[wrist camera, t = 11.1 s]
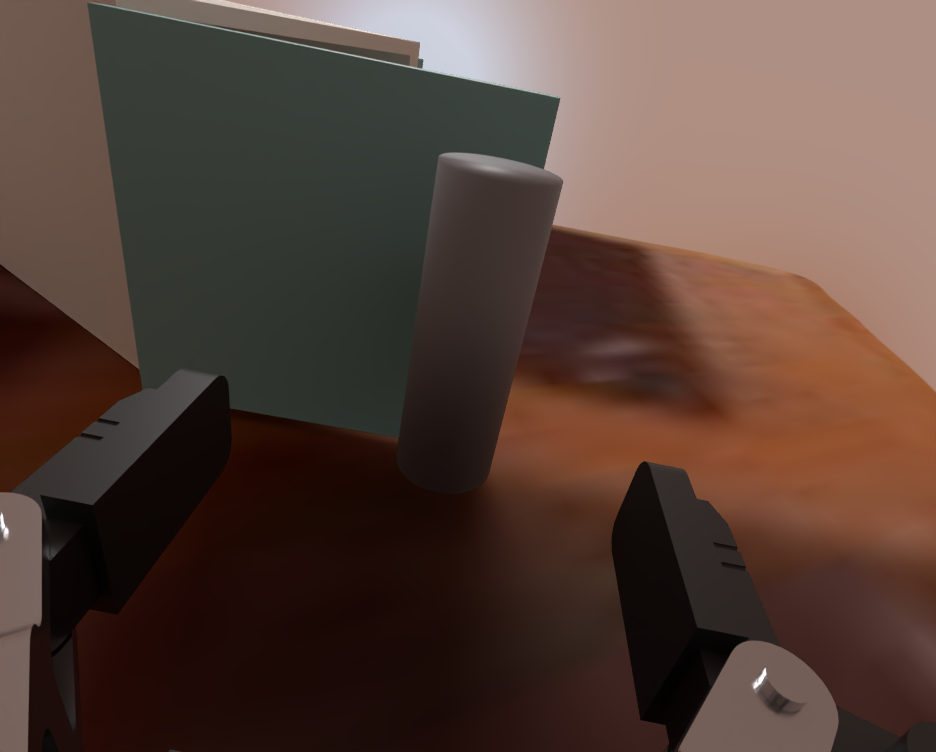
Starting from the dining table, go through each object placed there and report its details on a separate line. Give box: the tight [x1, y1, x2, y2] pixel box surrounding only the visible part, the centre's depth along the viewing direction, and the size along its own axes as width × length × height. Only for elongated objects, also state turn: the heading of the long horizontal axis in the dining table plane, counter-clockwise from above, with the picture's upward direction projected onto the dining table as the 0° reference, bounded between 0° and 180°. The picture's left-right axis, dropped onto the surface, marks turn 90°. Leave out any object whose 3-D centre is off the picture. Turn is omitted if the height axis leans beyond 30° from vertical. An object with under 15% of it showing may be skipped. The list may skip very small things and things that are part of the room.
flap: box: [87, 2, 563, 494], centre depth 17 cm, size 6×14×13 cm, turn 87°
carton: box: [0, 0, 423, 369], centre depth 29 cm, size 16×15×14 cm
